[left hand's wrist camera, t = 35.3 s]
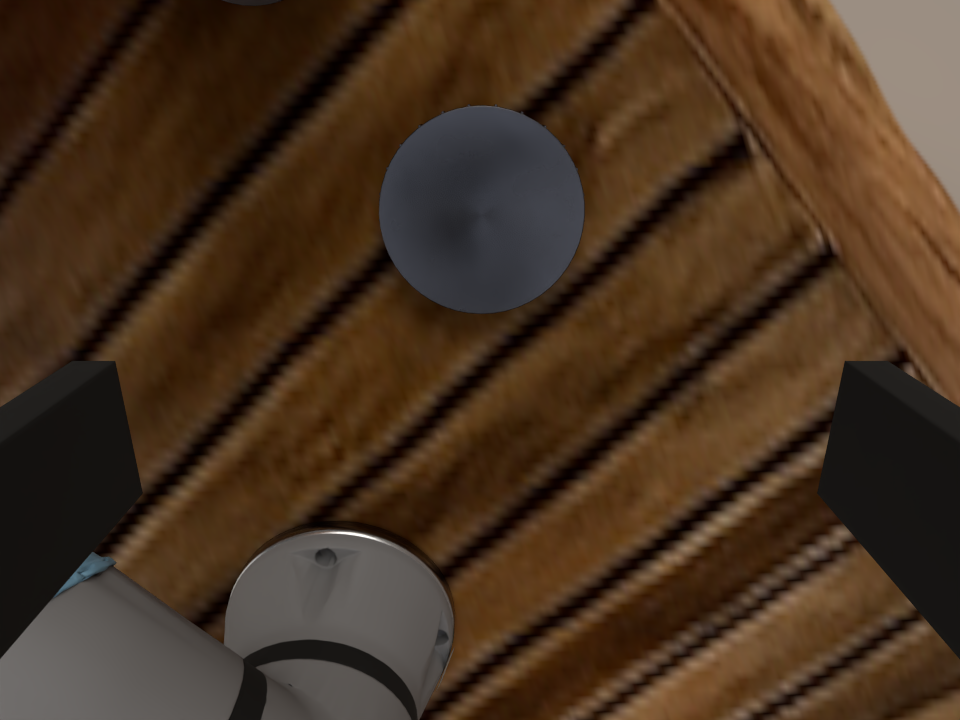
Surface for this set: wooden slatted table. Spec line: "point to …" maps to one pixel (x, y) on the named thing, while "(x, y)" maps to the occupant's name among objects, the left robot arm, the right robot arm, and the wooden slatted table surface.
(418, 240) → the lid
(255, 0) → the jar
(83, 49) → the wooden slatted table surface
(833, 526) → the wooden slatted table surface
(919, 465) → the left robot arm
